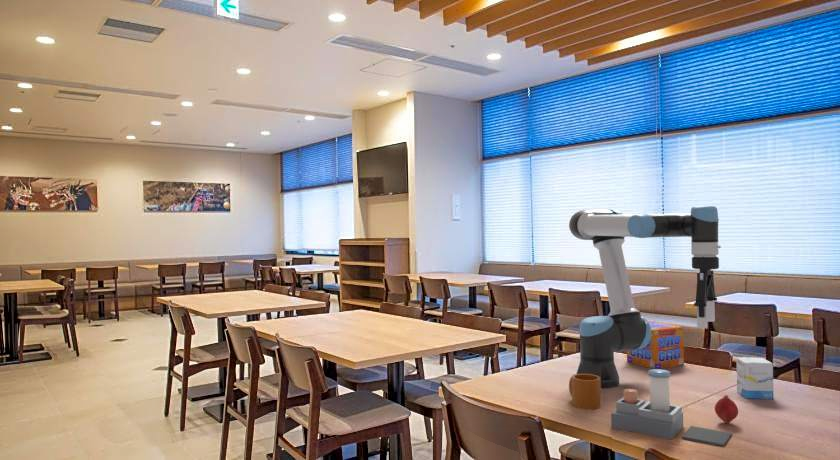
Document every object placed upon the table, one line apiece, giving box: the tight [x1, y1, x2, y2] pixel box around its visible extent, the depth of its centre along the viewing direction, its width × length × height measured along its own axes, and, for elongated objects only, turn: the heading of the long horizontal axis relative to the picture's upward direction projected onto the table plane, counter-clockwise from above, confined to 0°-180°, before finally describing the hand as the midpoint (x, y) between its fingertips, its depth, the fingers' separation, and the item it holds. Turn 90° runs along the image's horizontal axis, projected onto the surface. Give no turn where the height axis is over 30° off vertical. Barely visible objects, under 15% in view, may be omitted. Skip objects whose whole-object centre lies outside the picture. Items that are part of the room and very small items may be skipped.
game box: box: [626, 321, 685, 369], centre depth 237 cm, size 16×16×16 cm
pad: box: [681, 425, 732, 448], centre depth 153 cm, size 10×10×1 cm
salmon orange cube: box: [623, 388, 638, 404], centre depth 164 cm, size 4×4×4 cm
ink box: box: [736, 356, 775, 400], centre depth 190 cm, size 8×8×12 cm
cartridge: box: [648, 368, 671, 413], centre depth 159 cm, size 5×5×12 cm
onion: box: [714, 394, 739, 424], centre depth 164 cm, size 6×6×8 cm
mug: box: [568, 373, 602, 410], centre depth 184 cm, size 9×12×9 cm
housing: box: [610, 396, 684, 440], centre depth 162 cm, size 16×12×6 cm
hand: (706, 324), depth 179 cm, fingers open, 13 cm apart
